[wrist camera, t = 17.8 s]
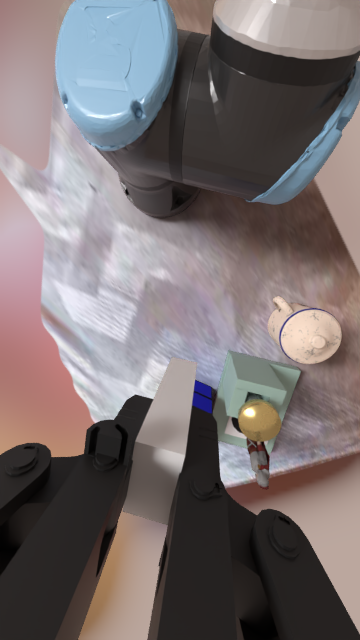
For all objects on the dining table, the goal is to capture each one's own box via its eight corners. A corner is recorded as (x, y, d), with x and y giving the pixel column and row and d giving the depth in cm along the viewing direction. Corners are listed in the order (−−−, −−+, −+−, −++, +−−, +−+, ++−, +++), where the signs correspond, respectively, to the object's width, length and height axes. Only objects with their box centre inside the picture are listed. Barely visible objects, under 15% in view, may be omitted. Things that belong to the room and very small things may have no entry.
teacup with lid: (324, 329, 42) (367, 349, 31) (283, 355, 44) (308, 383, 33) (288, 279, 41) (319, 281, 30) (247, 308, 43) (261, 321, 32)
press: (228, 350, 45) (235, 378, 33) (296, 366, 44) (330, 402, 32) (206, 430, 50) (205, 481, 38) (267, 447, 49) (286, 505, 37)
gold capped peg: (235, 366, 41) (245, 401, 30) (265, 373, 41) (286, 411, 29) (227, 392, 42) (234, 435, 31) (256, 399, 42) (274, 446, 31)
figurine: (231, 404, 45) (243, 466, 31) (268, 406, 44) (298, 471, 30) (230, 432, 47) (240, 505, 32) (266, 435, 46) (293, 511, 31)
